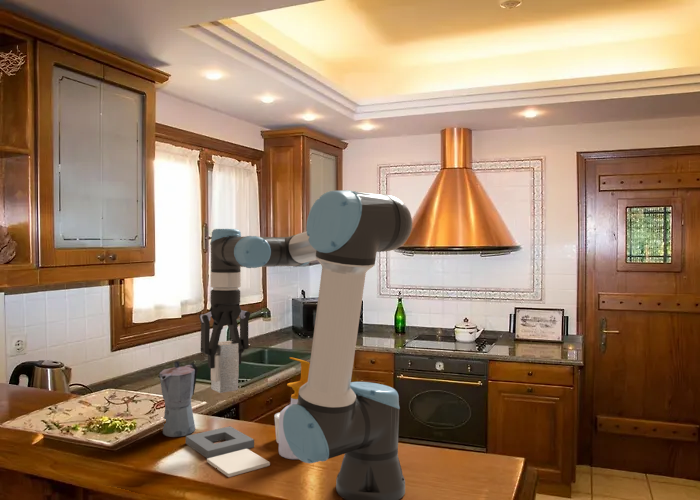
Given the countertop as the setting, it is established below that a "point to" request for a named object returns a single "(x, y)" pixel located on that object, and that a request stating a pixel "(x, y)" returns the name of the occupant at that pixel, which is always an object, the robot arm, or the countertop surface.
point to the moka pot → (178, 399)
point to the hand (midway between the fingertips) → (224, 378)
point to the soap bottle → (283, 445)
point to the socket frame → (233, 443)
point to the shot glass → (277, 426)
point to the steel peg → (226, 367)
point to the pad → (238, 462)
